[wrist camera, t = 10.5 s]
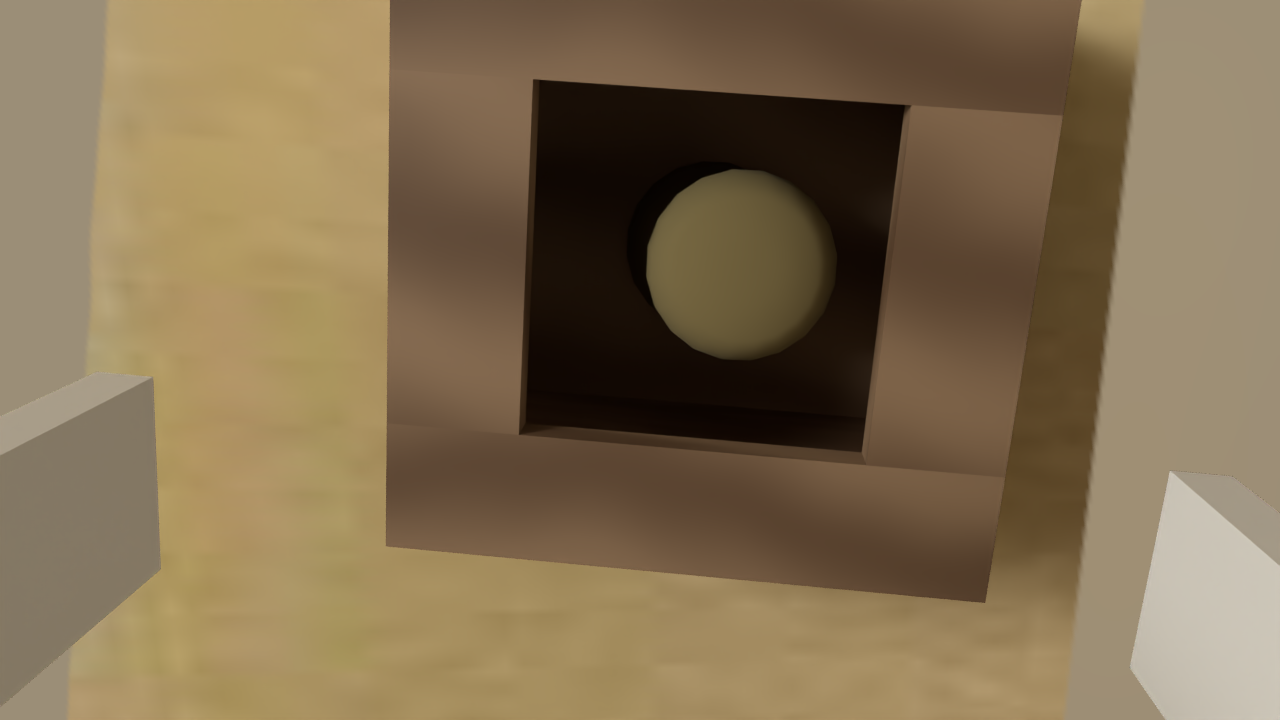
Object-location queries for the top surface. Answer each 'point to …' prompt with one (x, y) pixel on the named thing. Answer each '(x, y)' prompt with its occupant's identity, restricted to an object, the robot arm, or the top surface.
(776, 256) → the cork
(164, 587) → the top surface
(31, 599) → the robot arm
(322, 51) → the top surface
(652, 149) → the walnut box
